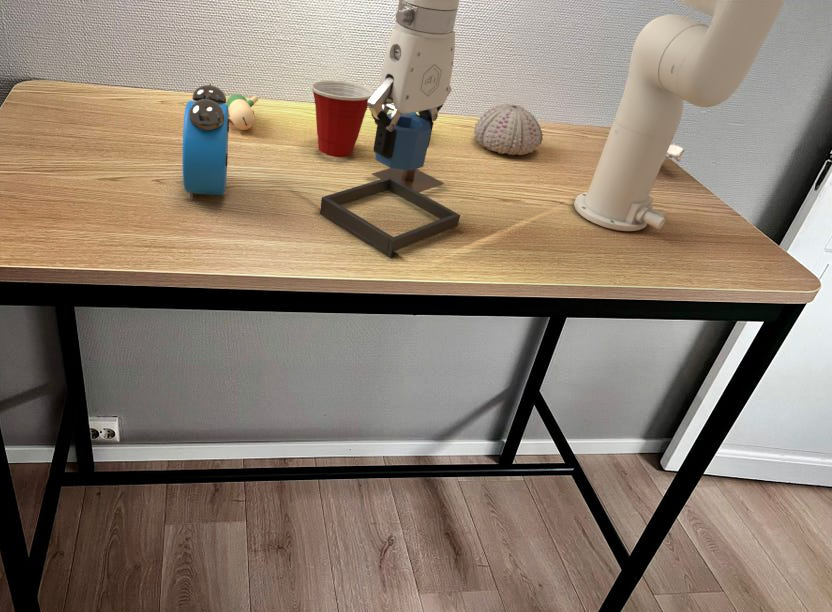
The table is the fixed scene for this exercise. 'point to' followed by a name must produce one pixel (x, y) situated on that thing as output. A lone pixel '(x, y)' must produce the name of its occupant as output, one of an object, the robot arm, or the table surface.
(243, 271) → the table surface
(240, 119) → the toy figurine
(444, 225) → the tray
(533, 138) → the sea urchin shell
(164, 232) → the table surface
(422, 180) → the dowel stand
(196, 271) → the table surface
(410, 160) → the ring
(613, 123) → the robot arm
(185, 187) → the alarm clock
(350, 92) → the plastic cup
